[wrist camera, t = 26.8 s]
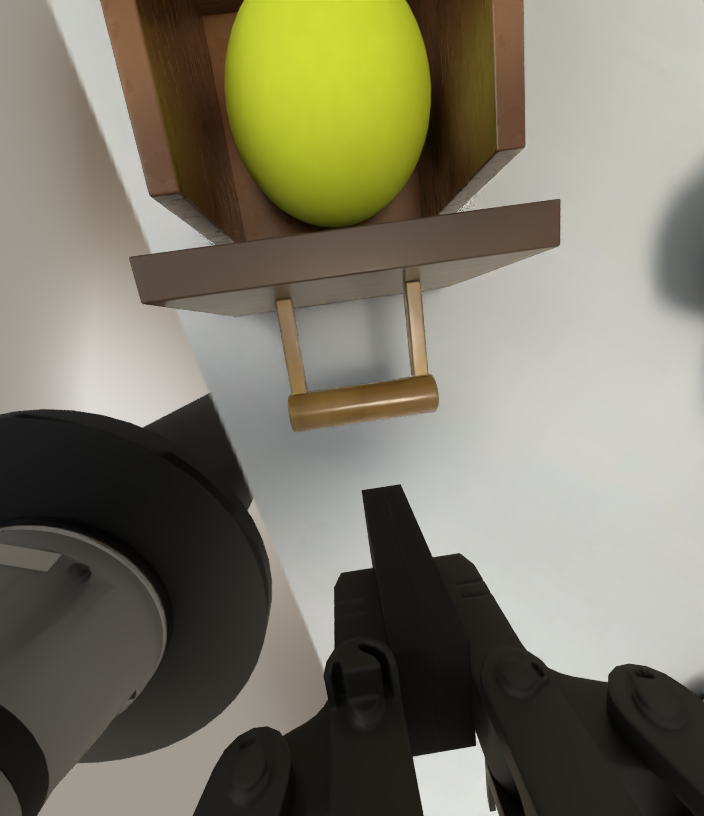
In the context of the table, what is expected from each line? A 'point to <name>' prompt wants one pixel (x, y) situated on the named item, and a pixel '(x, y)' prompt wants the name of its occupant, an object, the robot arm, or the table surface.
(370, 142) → the tennis ball
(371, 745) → the robot arm
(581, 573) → the table surface
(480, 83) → the drawer
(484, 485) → the table surface
